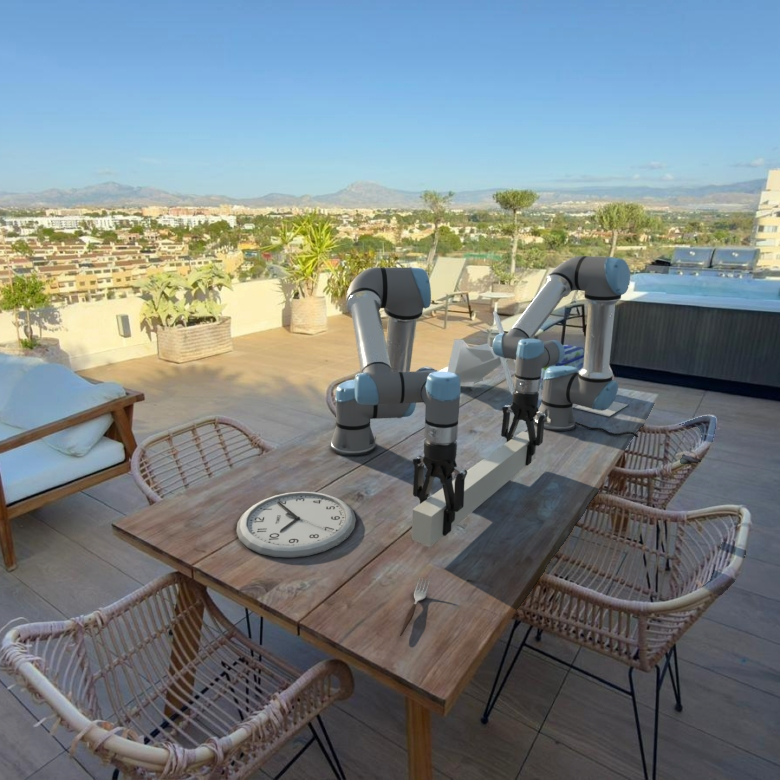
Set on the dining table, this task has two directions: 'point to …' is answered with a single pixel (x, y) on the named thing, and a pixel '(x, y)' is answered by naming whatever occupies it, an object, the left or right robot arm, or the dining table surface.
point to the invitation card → (608, 412)
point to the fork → (418, 596)
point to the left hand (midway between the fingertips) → (436, 528)
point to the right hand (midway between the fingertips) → (519, 461)
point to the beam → (471, 489)
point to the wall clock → (296, 524)
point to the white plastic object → (477, 360)
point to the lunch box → (568, 360)
